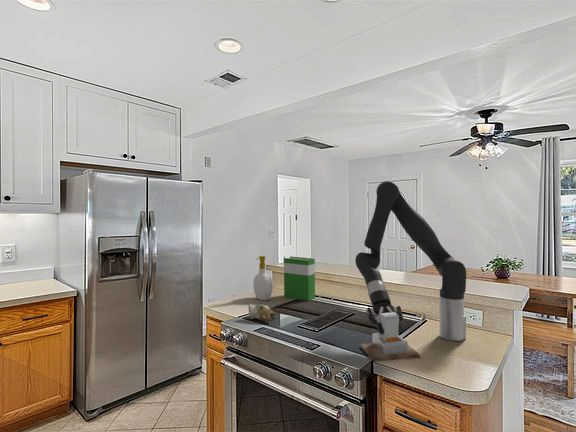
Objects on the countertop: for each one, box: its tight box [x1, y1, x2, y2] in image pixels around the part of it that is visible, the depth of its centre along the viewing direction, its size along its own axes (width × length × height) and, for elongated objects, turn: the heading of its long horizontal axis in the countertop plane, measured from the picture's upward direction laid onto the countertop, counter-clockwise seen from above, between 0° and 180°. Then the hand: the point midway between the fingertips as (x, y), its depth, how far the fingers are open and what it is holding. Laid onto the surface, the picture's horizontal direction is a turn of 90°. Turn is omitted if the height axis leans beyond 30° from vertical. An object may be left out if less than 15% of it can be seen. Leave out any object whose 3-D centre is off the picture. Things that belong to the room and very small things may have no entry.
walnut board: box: [360, 342, 421, 362], centre depth 133 cm, size 18×13×1 cm
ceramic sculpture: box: [248, 302, 280, 323], centre depth 173 cm, size 11×9×15 cm
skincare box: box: [378, 311, 400, 342], centre depth 133 cm, size 6×4×12 cm
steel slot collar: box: [371, 332, 408, 356], centre depth 133 cm, size 9×10×4 cm
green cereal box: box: [283, 255, 316, 302], centre depth 212 cm, size 18×7×24 cm, turn 55°
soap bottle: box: [253, 255, 273, 301], centre depth 209 cm, size 14×9×26 cm, turn 47°
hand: (390, 332), depth 131 cm, fingers closed on skincare box, 6 cm apart
